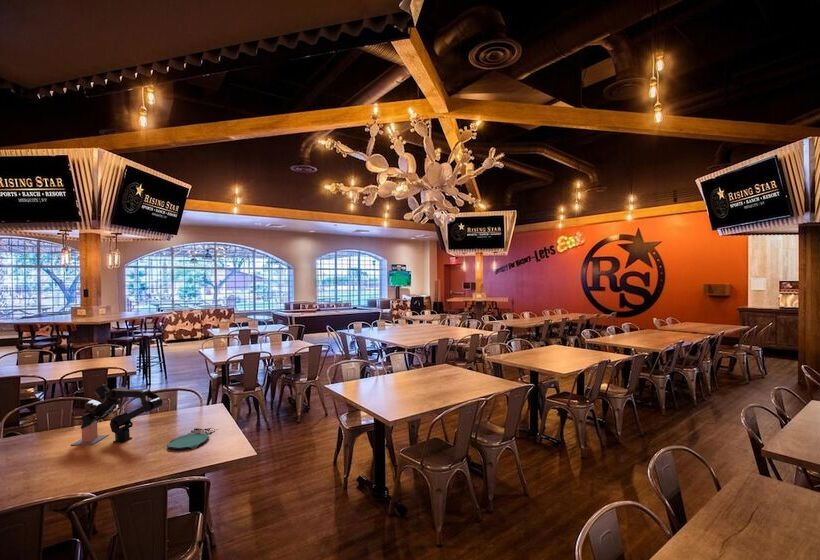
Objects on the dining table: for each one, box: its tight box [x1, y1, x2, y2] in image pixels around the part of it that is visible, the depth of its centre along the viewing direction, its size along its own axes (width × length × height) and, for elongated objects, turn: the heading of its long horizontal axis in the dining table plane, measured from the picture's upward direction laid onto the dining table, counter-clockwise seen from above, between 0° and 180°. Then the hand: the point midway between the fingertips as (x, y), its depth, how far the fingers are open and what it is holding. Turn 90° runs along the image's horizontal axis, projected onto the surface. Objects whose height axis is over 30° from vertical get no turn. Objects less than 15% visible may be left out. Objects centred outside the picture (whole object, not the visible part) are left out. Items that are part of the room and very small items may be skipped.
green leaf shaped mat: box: [166, 427, 213, 450], centre depth 223 cm, size 20×30×2 cm, turn 179°
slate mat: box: [70, 434, 109, 447], centre depth 224 cm, size 12×12×1 cm
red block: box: [80, 421, 99, 442], centre depth 224 cm, size 5×5×10 cm
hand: (87, 425), depth 224 cm, fingers open, 9 cm apart
